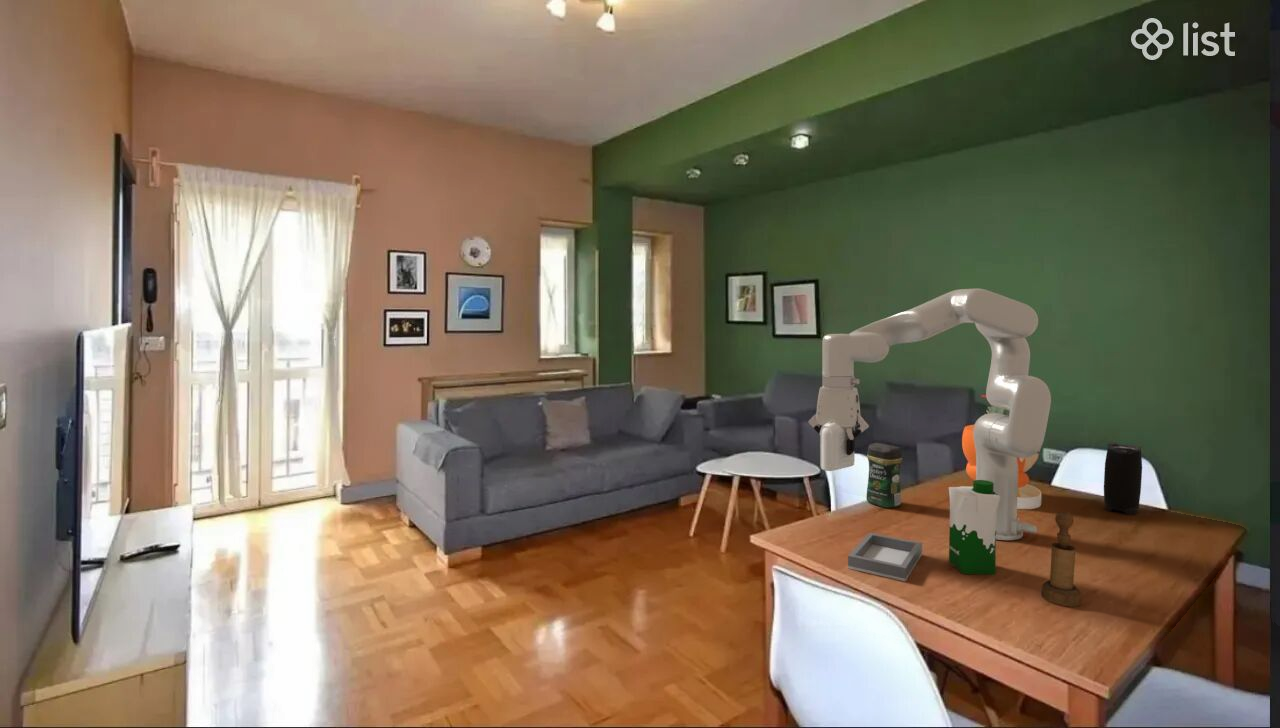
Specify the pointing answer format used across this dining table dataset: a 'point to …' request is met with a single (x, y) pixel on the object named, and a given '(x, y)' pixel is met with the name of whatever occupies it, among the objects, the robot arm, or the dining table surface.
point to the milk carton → (973, 528)
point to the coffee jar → (884, 475)
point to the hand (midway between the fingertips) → (837, 452)
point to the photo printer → (834, 448)
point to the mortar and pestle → (1062, 567)
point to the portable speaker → (1123, 478)
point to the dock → (885, 556)
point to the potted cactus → (1026, 493)
